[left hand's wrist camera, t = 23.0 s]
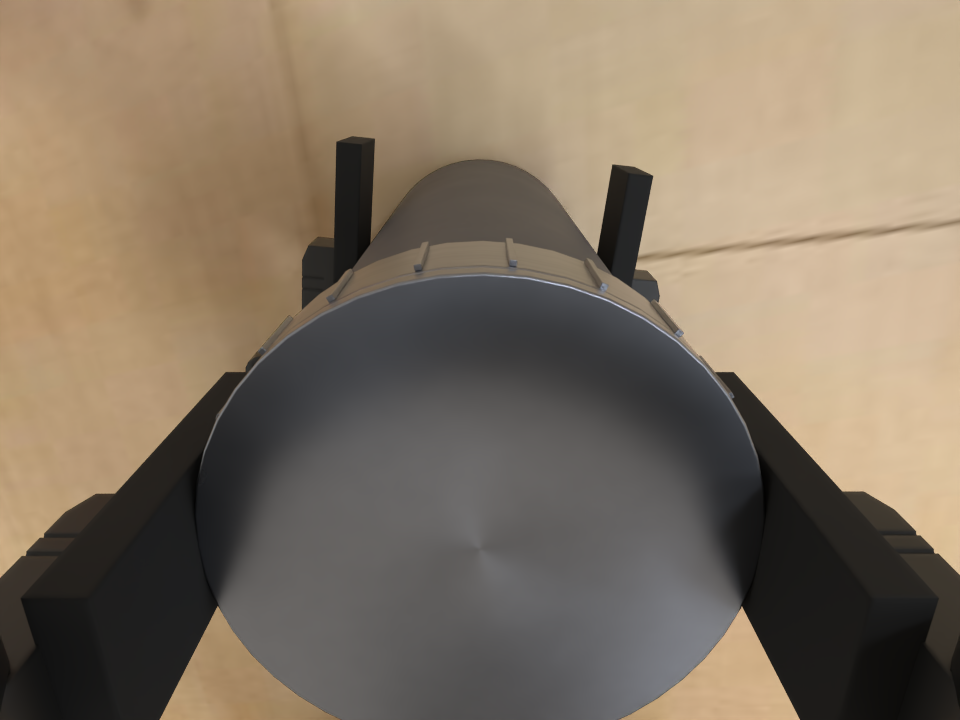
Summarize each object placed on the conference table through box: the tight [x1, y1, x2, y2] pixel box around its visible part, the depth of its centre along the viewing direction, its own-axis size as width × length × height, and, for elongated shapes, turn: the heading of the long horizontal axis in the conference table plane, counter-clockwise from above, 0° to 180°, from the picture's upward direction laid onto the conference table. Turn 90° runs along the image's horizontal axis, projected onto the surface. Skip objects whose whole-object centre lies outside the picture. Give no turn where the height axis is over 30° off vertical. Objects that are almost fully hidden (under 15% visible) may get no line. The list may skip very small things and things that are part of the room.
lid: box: [195, 238, 765, 720], centre depth 11 cm, size 9×9×2 cm
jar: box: [352, 160, 612, 275], centre depth 20 cm, size 8×8×19 cm
